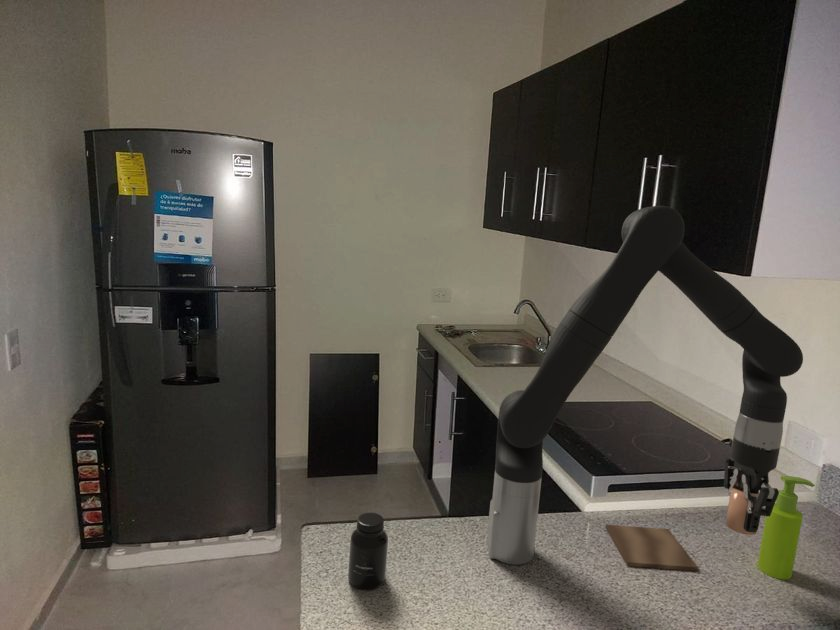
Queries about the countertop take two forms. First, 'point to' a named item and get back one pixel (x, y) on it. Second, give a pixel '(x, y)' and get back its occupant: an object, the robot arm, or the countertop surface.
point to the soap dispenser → (782, 532)
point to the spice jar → (738, 511)
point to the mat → (650, 548)
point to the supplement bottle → (368, 552)
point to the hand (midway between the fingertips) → (741, 522)
